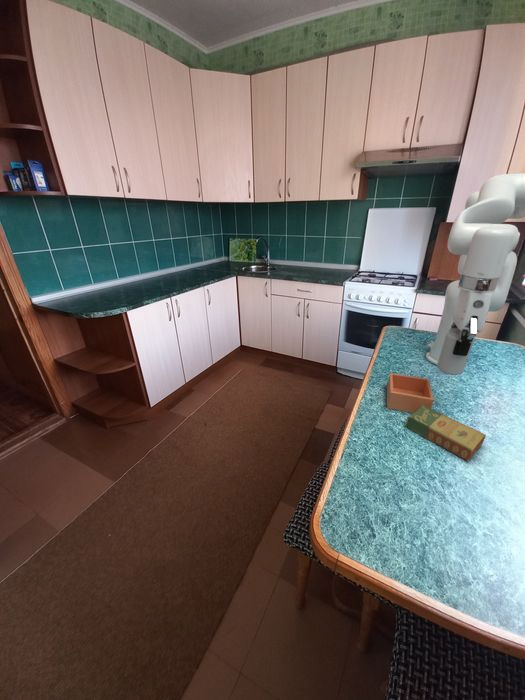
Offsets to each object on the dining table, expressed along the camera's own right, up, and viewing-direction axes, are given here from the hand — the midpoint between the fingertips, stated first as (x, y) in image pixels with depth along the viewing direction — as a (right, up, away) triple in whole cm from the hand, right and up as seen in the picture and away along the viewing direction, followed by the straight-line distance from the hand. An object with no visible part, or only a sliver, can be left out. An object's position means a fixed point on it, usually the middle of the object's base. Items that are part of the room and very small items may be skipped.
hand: (456, 348), depth 78 cm
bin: (-6, -17, +14) cm, 23 cm away
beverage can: (0, -6, +3) cm, 7 cm away
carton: (-4, -24, +1) cm, 24 cm away
